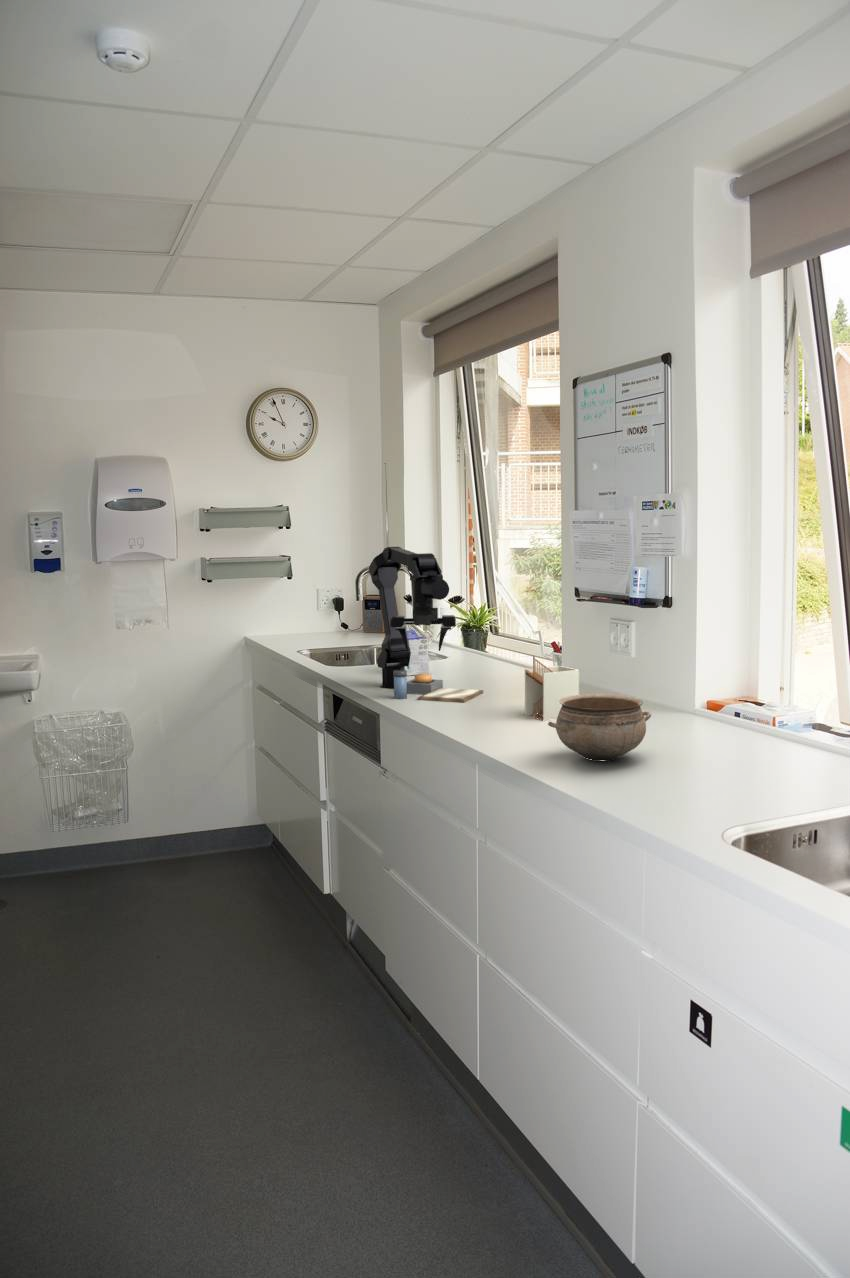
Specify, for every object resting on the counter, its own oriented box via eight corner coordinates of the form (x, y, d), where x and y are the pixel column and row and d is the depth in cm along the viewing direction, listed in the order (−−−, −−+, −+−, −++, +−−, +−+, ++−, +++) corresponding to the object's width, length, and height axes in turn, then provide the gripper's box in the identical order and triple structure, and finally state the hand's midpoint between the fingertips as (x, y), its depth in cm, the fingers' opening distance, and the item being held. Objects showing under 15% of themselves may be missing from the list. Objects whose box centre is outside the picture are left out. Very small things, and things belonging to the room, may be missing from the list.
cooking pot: (573, 774, 197) (573, 714, 195) (527, 754, 214) (527, 699, 213) (676, 761, 206) (677, 703, 205) (624, 742, 224) (625, 689, 222)
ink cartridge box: (423, 672, 332) (422, 629, 330) (430, 674, 327) (429, 631, 325) (396, 674, 327) (395, 631, 326) (402, 676, 322) (401, 632, 321)
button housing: (403, 693, 292) (403, 683, 292) (415, 688, 300) (415, 678, 300) (431, 694, 288) (431, 684, 288) (442, 689, 297) (442, 679, 296)
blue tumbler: (391, 698, 283) (391, 671, 282) (397, 696, 287) (396, 669, 286) (403, 699, 282) (403, 672, 281) (409, 697, 285) (408, 670, 284)
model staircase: (524, 716, 257) (524, 653, 255) (559, 712, 262) (559, 650, 260) (543, 722, 249) (543, 657, 247) (578, 718, 254) (579, 654, 252)
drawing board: (418, 699, 281) (418, 696, 281) (439, 690, 295) (439, 687, 295) (464, 702, 275) (464, 699, 275) (483, 692, 290) (483, 689, 290)
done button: (412, 682, 293) (411, 675, 292) (418, 679, 297) (418, 673, 297) (427, 683, 291) (427, 676, 290) (433, 680, 295) (433, 674, 295)
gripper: (388, 600, 275) (389, 655, 277) (455, 599, 275) (456, 654, 277) (391, 596, 286) (391, 649, 288) (455, 595, 286) (455, 649, 288)
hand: (423, 650), depth 285 cm, fingers open, 9 cm apart
